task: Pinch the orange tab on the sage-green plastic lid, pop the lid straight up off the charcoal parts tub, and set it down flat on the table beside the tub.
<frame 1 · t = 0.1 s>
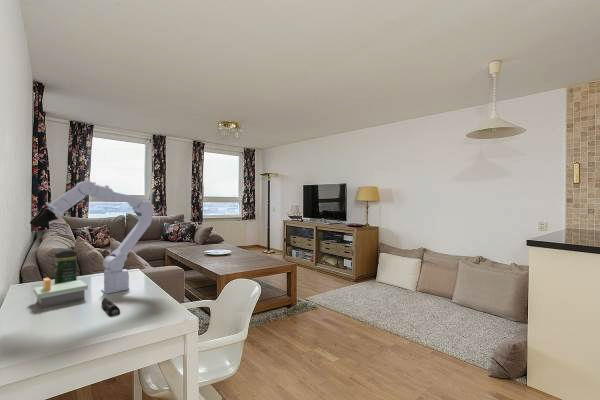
hand: (32, 225, 116), 32 cm above the table, tool tilted 50°, fingers open, 7 cm apart
lid: (61, 290, 124), point 4 cm above the table, touching tub
tub: (61, 300, 124), on the table
electric trimmer: (109, 311, 114), on the table
coffee jar: (65, 288, 140), on the table
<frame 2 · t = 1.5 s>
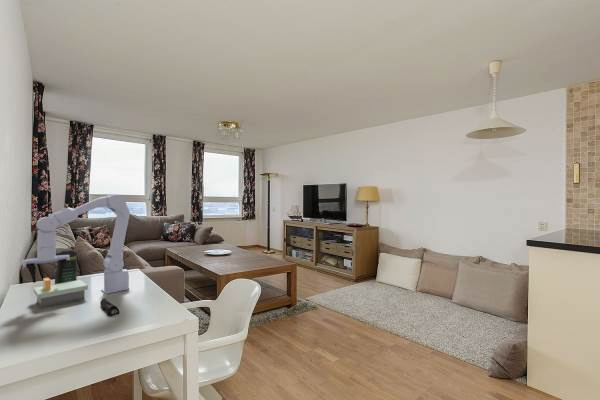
hand: (46, 280, 120), 9 cm above the table, tool pointing down, fingers open, 7 cm apart
nothing on the table moved.
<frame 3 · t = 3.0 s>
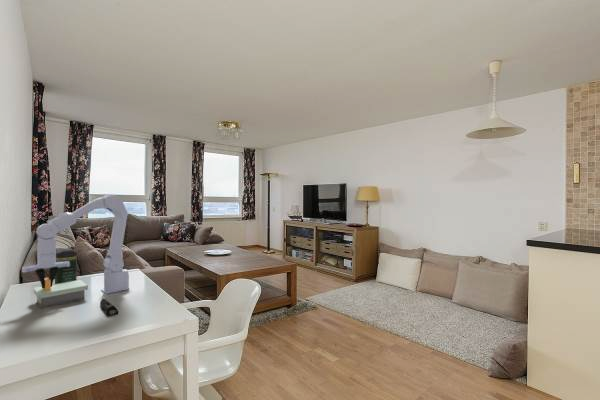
hand: (46, 287, 121), 7 cm above the table, tool pointing down, fingers closed on lid
lid: (61, 290, 124), point 4 cm above the table, touching gripper, tub
everything else where it was.
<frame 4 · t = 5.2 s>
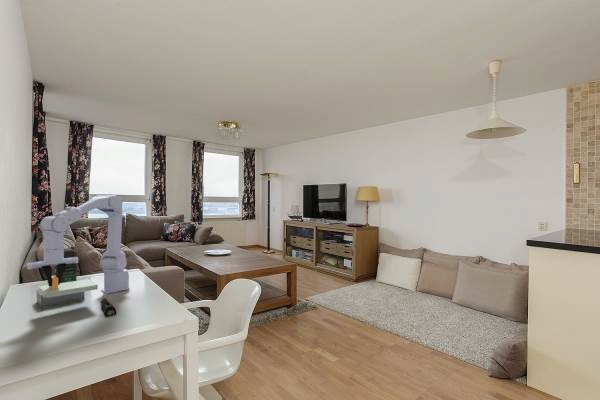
hand: (54, 285, 111), 10 cm above the table, tool pointing down, fingers closed on lid
lid: (68, 290, 114), point 7 cm above the table, touching gripper
everything else where it was.
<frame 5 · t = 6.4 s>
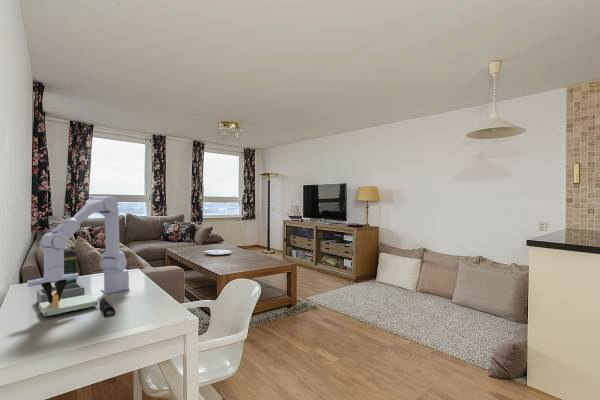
hand: (54, 301, 111), 4 cm above the table, tool pointing down, fingers closed on lid
lid: (68, 306, 114), point 1 cm above the table, touching gripper
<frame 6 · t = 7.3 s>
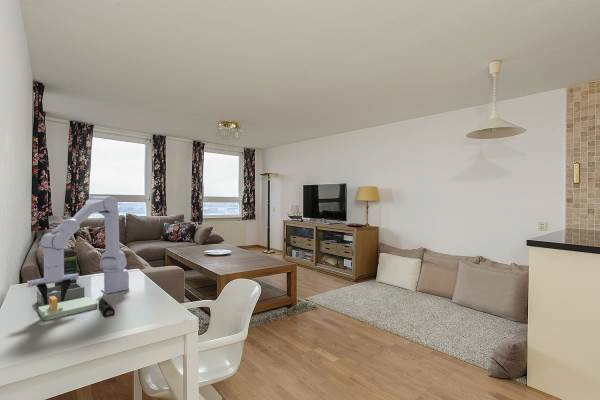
hand: (54, 302, 111), 4 cm above the table, tool pointing down, fingers open, 4 cm apart
lid: (68, 309, 114), on the table
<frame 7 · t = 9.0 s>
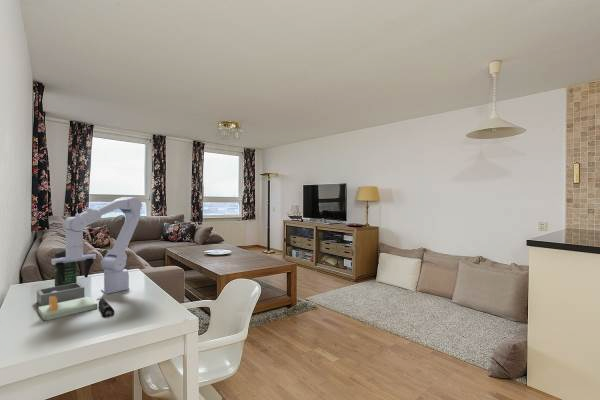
hand: (74, 278, 123), 9 cm above the table, tool pointing down, fingers open, 7 cm apart
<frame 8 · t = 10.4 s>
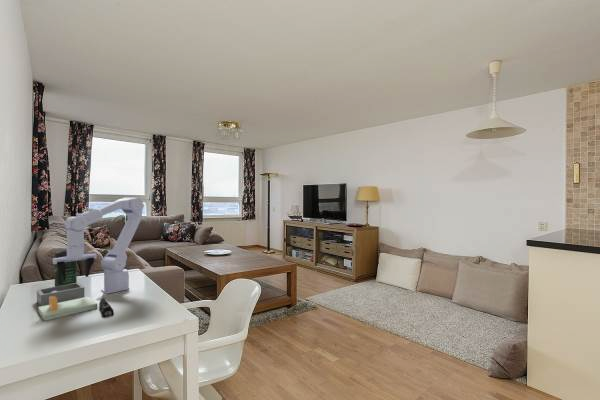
hand: (75, 278, 124), 9 cm above the table, tool pointing down, fingers open, 7 cm apart
at the end: lid inside the target area (0.3 cm from its centre), on the table; lid tilted 0°; lid touching table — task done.
